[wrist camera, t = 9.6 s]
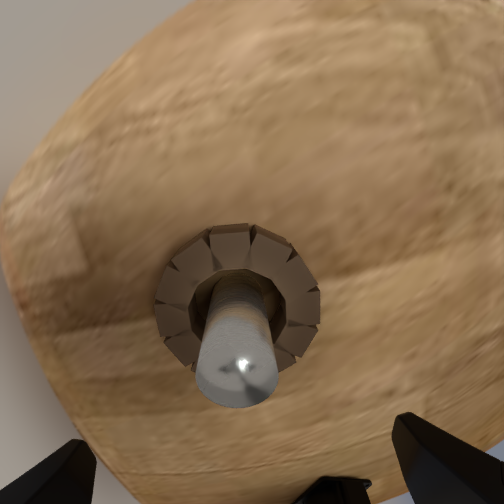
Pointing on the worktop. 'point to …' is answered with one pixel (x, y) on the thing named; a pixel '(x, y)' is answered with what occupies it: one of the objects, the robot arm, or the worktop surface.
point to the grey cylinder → (237, 345)
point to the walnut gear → (230, 258)
